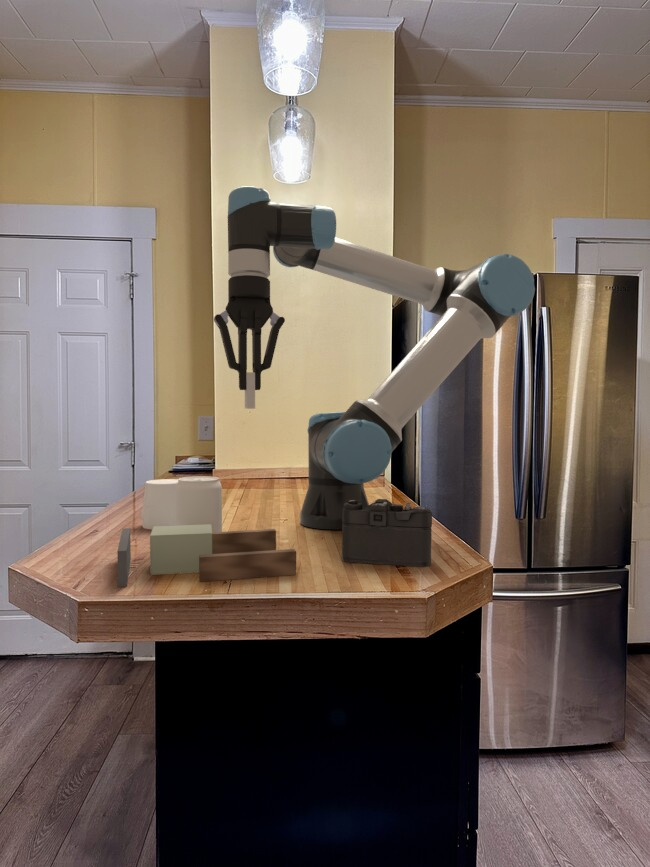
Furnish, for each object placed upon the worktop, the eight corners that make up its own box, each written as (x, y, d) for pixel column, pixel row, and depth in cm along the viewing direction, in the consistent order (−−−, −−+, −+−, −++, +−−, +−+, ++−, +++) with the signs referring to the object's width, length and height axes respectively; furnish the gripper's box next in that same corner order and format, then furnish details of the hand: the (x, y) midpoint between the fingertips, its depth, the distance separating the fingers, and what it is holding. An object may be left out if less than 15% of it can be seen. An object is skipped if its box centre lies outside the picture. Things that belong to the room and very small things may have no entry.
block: (211, 561, 101) (211, 524, 101) (212, 572, 94) (211, 533, 94) (154, 563, 99) (153, 526, 99) (150, 575, 92) (149, 535, 92)
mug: (135, 483, 125) (149, 478, 133) (136, 530, 125) (149, 522, 133) (195, 484, 124) (205, 479, 132) (195, 530, 124) (205, 523, 132)
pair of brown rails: (274, 548, 109) (274, 528, 108) (296, 574, 92) (296, 551, 92) (192, 554, 105) (192, 533, 105) (200, 581, 89) (199, 557, 88)
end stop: (130, 558, 102) (130, 528, 101) (127, 586, 86) (126, 550, 86) (122, 559, 101) (122, 528, 101) (118, 586, 86) (117, 551, 86)
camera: (433, 552, 106) (434, 494, 106) (430, 569, 96) (431, 504, 95) (351, 548, 109) (351, 492, 109) (339, 564, 99) (339, 501, 98)
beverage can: (212, 551, 107) (211, 482, 106) (167, 549, 108) (167, 480, 108) (228, 541, 114) (228, 476, 114) (187, 539, 116) (186, 475, 115)
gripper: (280, 283, 118) (280, 408, 119) (210, 279, 115) (211, 408, 116) (288, 275, 111) (289, 408, 112) (214, 271, 107) (215, 408, 109)
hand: (249, 408), depth 114 cm, fingers closed
